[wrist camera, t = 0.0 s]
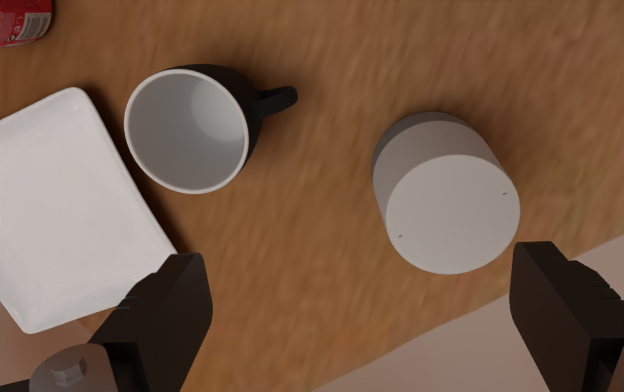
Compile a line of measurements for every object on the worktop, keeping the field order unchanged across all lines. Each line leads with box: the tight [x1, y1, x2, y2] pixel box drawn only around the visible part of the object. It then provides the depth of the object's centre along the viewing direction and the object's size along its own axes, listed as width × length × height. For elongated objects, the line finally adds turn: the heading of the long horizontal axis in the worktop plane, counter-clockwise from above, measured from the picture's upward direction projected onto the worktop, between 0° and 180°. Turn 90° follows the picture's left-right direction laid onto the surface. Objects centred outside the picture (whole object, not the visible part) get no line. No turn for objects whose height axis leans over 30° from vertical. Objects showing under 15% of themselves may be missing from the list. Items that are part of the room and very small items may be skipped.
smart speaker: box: [371, 111, 520, 274], centre depth 34 cm, size 10×9×14 cm
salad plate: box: [0, 87, 178, 334], centre depth 45 cm, size 21×21×3 cm
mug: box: [124, 64, 298, 194], centre depth 35 cm, size 12×9×10 cm
